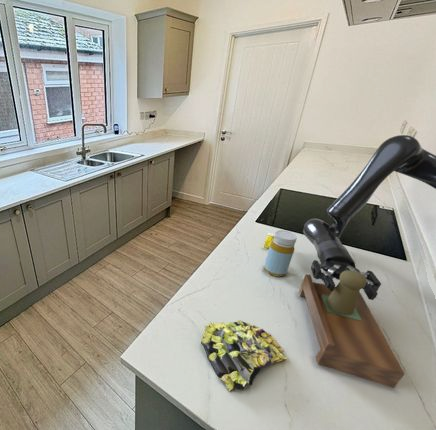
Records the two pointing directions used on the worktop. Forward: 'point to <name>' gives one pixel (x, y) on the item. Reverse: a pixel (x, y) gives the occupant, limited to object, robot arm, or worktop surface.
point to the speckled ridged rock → (239, 351)
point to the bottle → (280, 253)
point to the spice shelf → (350, 338)
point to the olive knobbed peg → (346, 292)
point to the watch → (269, 240)
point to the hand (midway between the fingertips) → (352, 292)
